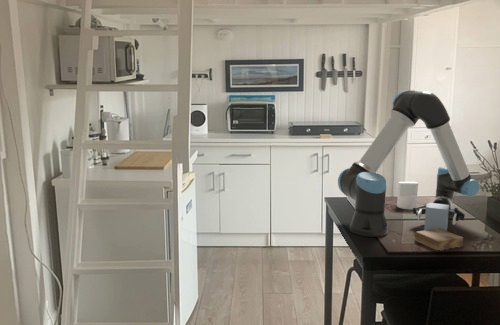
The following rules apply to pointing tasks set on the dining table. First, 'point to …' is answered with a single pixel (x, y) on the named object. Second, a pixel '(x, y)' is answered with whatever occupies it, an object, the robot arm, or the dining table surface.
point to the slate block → (436, 216)
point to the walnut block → (439, 239)
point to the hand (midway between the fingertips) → (435, 218)
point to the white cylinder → (407, 195)
